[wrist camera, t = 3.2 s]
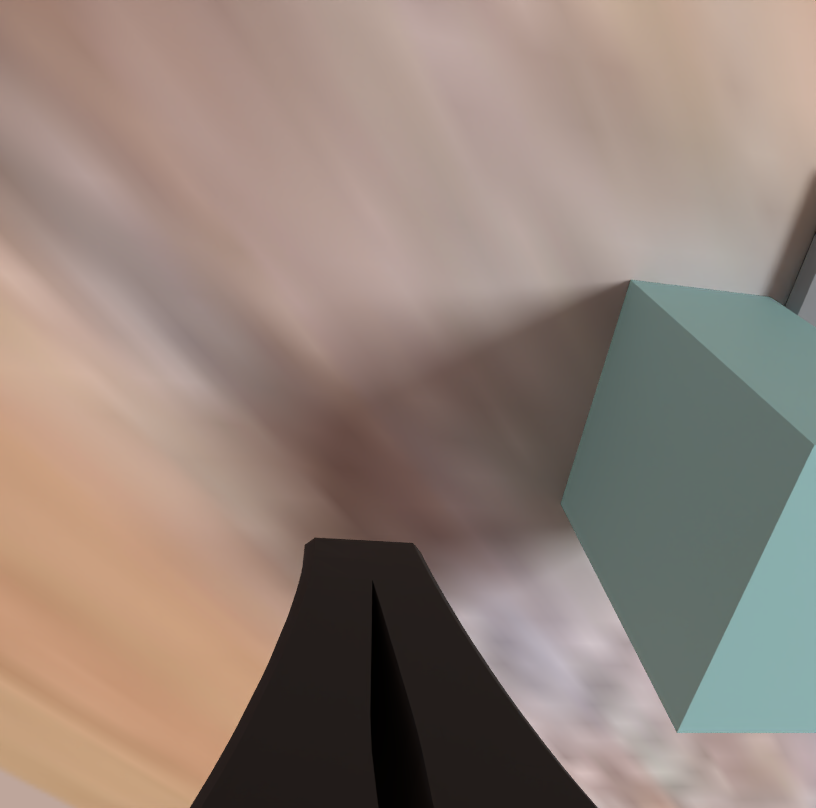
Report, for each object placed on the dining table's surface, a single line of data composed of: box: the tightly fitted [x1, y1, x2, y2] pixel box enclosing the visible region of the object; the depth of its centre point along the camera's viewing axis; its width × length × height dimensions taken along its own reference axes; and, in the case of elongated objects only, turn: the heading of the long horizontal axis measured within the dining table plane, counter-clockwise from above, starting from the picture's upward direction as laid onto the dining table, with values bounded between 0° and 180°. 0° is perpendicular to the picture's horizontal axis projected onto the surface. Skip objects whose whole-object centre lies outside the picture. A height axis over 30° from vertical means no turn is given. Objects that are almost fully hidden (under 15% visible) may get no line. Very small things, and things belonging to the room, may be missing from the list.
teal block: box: [561, 280, 816, 733], centre depth 18 cm, size 4×7×8 cm, turn 170°
